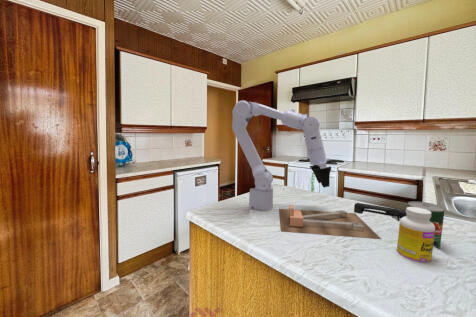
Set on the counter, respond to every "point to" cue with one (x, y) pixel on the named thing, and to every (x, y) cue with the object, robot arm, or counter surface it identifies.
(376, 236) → the walnut board
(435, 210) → the canned tomato
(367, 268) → the counter surface
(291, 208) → the sleeve
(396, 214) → the door handle
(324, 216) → the tong arm
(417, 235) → the supplement bottle
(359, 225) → the fixed tong arm
